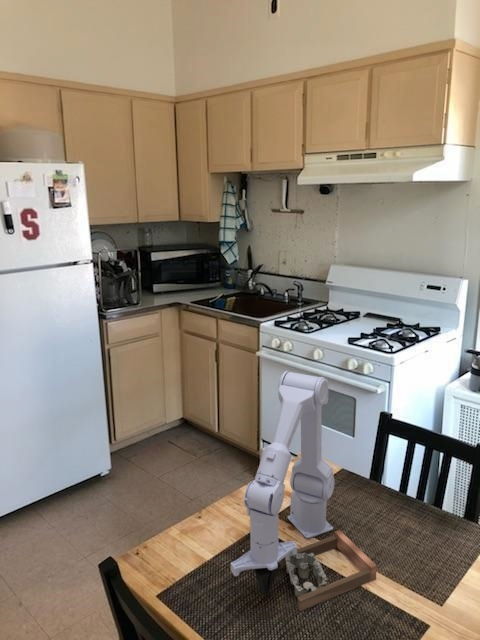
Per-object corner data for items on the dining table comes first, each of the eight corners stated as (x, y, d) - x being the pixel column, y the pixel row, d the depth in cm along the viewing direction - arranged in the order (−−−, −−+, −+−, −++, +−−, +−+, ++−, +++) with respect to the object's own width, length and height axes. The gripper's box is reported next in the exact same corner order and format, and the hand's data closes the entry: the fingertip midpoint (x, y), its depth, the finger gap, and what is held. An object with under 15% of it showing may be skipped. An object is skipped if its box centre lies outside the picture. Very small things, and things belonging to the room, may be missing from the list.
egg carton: (329, 598, 109) (329, 582, 108) (293, 602, 108) (294, 585, 107) (315, 562, 119) (316, 547, 118) (283, 565, 118) (283, 550, 117)
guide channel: (268, 568, 117) (268, 555, 116) (339, 542, 125) (339, 529, 124) (300, 611, 106) (300, 597, 105) (375, 579, 114) (376, 565, 113)
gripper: (240, 559, 99) (242, 617, 103) (305, 536, 105) (304, 592, 109) (225, 537, 105) (227, 593, 109) (287, 517, 111) (287, 570, 115)
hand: (264, 591), depth 109 cm, fingers closed
